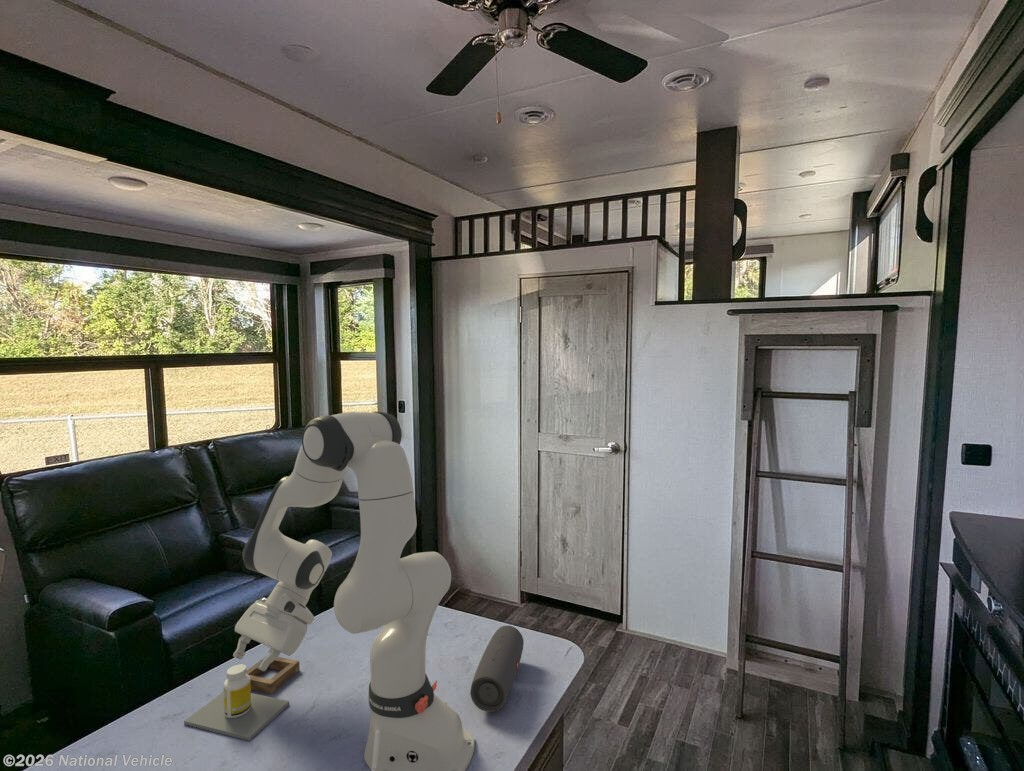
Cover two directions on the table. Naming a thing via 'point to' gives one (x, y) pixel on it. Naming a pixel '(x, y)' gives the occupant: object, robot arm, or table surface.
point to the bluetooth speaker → (497, 669)
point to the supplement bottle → (237, 692)
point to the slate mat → (241, 726)
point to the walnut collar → (270, 685)
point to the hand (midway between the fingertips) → (248, 663)
